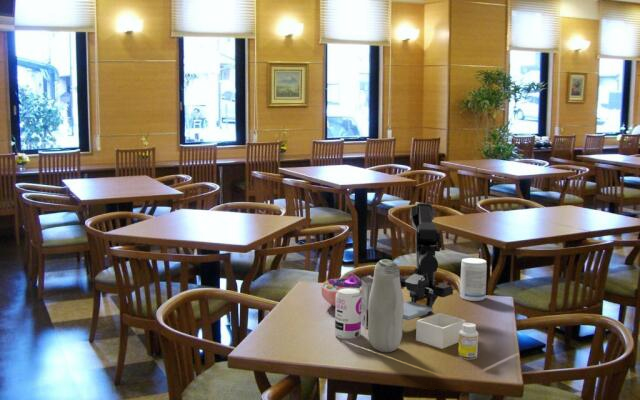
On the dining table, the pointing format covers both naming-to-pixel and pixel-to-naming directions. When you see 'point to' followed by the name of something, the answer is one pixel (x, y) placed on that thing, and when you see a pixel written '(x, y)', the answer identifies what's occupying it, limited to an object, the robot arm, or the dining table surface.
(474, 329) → the supplement bottle
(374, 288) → the grey tall bottle
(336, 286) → the cell model
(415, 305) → the lid
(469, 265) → the supplement tub
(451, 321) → the tub
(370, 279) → the coffee box
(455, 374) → the dining table surface
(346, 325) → the supplement can
